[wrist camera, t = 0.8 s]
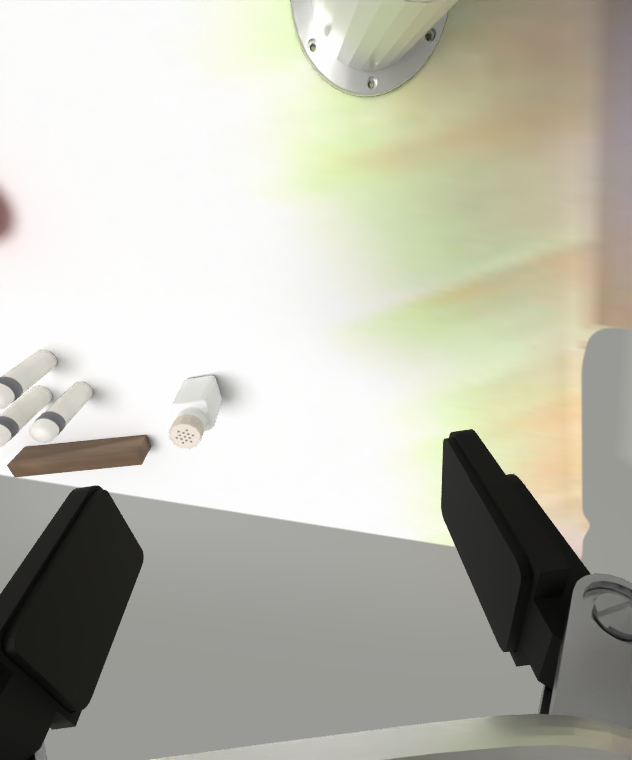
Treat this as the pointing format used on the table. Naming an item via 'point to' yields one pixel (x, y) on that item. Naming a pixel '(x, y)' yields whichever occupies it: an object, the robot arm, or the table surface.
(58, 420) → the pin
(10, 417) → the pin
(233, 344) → the table surface
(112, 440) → the rail
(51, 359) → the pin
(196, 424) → the salt shaker
